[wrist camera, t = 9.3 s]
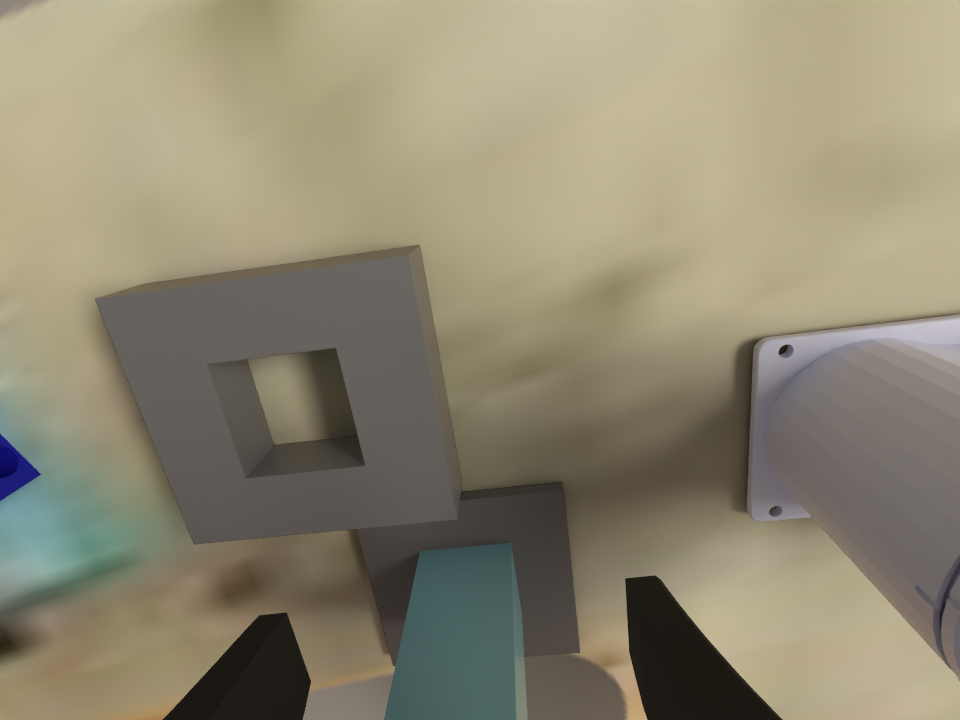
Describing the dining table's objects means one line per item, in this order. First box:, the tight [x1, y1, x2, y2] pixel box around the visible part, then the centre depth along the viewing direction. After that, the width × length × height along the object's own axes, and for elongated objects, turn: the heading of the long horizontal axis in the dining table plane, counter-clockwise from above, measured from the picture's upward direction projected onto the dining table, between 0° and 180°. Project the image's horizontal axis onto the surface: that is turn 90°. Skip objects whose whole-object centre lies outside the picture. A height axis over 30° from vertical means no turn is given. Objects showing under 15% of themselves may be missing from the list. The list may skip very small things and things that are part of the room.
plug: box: [384, 543, 527, 720], centre depth 19 cm, size 4×4×8 cm
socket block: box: [95, 245, 462, 544], centre depth 19 cm, size 11×10×2 cm
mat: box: [356, 482, 580, 666], centre depth 23 cm, size 9×9×1 cm
